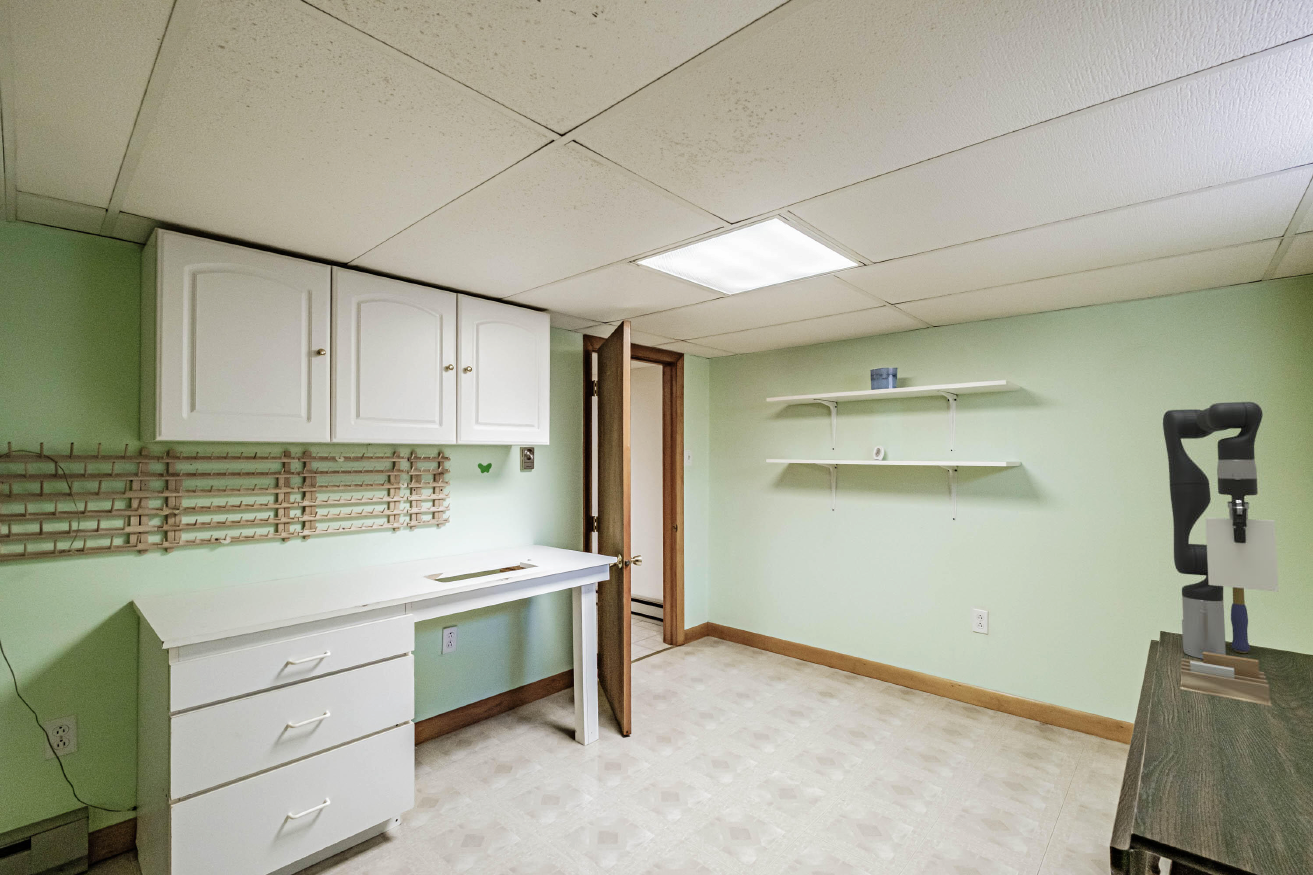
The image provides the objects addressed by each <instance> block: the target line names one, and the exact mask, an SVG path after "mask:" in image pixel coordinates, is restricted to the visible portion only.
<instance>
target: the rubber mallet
mask: <svg viewBox="0 0 1313 875" xmlns="http://www.w3.org/2000/svg"><path fill="white" fill-rule="evenodd" d="M1245 601H1246V600H1245V588H1236V587H1232V604H1231V609H1230V622H1231V627H1232V641H1231V648H1232V649H1233V650H1234V652H1236V653H1239V654H1248V652H1249V651H1250V649H1251V647H1250V644H1249V637H1248V635H1249V634H1248V627H1249V617H1248V616H1249V615H1248V609H1247V606H1246V603H1245Z"/></svg>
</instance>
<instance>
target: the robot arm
mask: <svg viewBox="0 0 1313 875" xmlns="http://www.w3.org/2000/svg"><path fill="white" fill-rule="evenodd" d="M1262 419H1263V410H1262V408H1261V406H1260V405H1259V404H1257V403H1256V402H1252V401H1239V402H1238V401H1237V402H1235V401H1233V402H1218V403H1213V404H1211V405H1210V406H1209V407H1208V408H1205V409H1170V410H1167V411H1165V413H1164V415H1163V417H1162V429H1163V436H1164V442H1165V446H1166V452H1167V460H1168V462H1167V463H1168V475H1169V476H1168V478H1169V492H1170V494H1169V496H1170V502H1171V511H1172V519H1173V520H1172V521H1173V561H1174V566H1175V569H1176V571H1177V572H1178V573H1179V574H1183V575H1192V576H1205V578H1204V579H1202V580H1200V581H1198V582H1195V583H1191V584H1190V583H1189V584H1186V585H1184V586H1182V588H1181V600H1182V620H1181V626H1182V627H1181V630H1182V634H1181V635H1182V650H1183V652H1184V654H1186V655H1188V656H1191V657H1193V658H1198V659H1201V660H1202V659H1203V652H1208V653H1215V654H1221V655H1227V653H1226V652H1227V651H1226V650H1227V649H1226V629H1225V628H1226V627H1225V626H1226V625H1225V609H1224V608H1225V607H1224V586H1215V585H1209V581H1208V560H1207V544H1203V543H1202V544H1198V543H1190V542H1189V540H1190V534H1191V532H1192V529H1193V527H1194V526H1195V524H1196V523H1197V521H1198V520H1199V519H1200V518H1201V517H1202V515H1203V514H1204V512H1206V510H1207V508H1208V507H1209V505H1210V503H1211V486H1210V481H1209V477H1208V476H1207V475H1206V474H1205V472H1204V471H1203V470H1202V469H1201V468H1200V467H1199V466H1198V465H1197V464H1196V463H1195V462H1194V461H1193V460H1192V459H1191V458H1190V456H1189V455H1188V454H1187V452H1186V450H1185V447H1184V444H1183V442H1182V440H1184V439H1186V440H1187V439H1188V440H1191V439H1196V440H1197V439H1198V440H1199V439H1203V438H1206V437H1209V436H1210V435H1212V434H1213V433H1215V432H1221V431H1222V432H1223V431H1226V430H1229V429H1235V430H1236V429H1240V431H1239V433H1238V434H1237V435H1235V436H1231V437H1224V438H1223V437H1222V438H1221V439H1219V440H1218V441H1217V460H1218V461H1217V468H1216V470H1217V471H1216V472H1217V493H1218V494H1219V495H1224V496H1230V497H1231V501H1227V508H1228V513H1229V518H1230V519H1232V520H1233V523H1232V524H1233V525H1232V527H1233V528H1234V542H1236V543H1246V532H1245V529H1246V528H1247V524H1246V520H1247V519H1249V508H1250V502H1248V501H1246V500H1245V497H1246V496H1257V495H1258V493H1259V492H1258V474H1257V473H1258V471H1257V470H1258V469H1257V464H1256V460H1255V458H1256V457H1255V455H1256V454H1255V443H1256V438H1257V434H1258V431H1259V428H1260V425H1261V423H1262ZM1237 519H1238V520H1243V522H1236V520H1237ZM1235 528H1236V529H1235Z"/></svg>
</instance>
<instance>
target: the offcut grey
mask: <svg viewBox="0 0 1313 875" xmlns="http://www.w3.org/2000/svg"><path fill="white" fill-rule="evenodd" d="M1193 661H1194V660H1192V661H1190V669H1191V672H1197V673H1202V674H1208V675H1214V676H1220V677H1225V678H1231V679H1235V678H1234V668H1229V667H1223V666H1217V665H1211V664H1205V663H1199V662H1200V661H1198V662H1193Z"/></svg>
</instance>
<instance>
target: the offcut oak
mask: <svg viewBox="0 0 1313 875" xmlns="http://www.w3.org/2000/svg"><path fill="white" fill-rule="evenodd" d="M1202 662H1203V663H1205V664H1211V665H1217V666H1223V667H1229V668H1234V675H1237V676H1243V677H1249V678H1255V679H1259V672H1260V666H1259V665H1260V664H1259V663H1260V662H1259V660H1258V659H1252V658H1247V657H1246V658H1245V657H1239V656H1233V655H1227V654H1226V655H1221V654H1215V653H1208V652H1203V660H1202Z"/></svg>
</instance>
